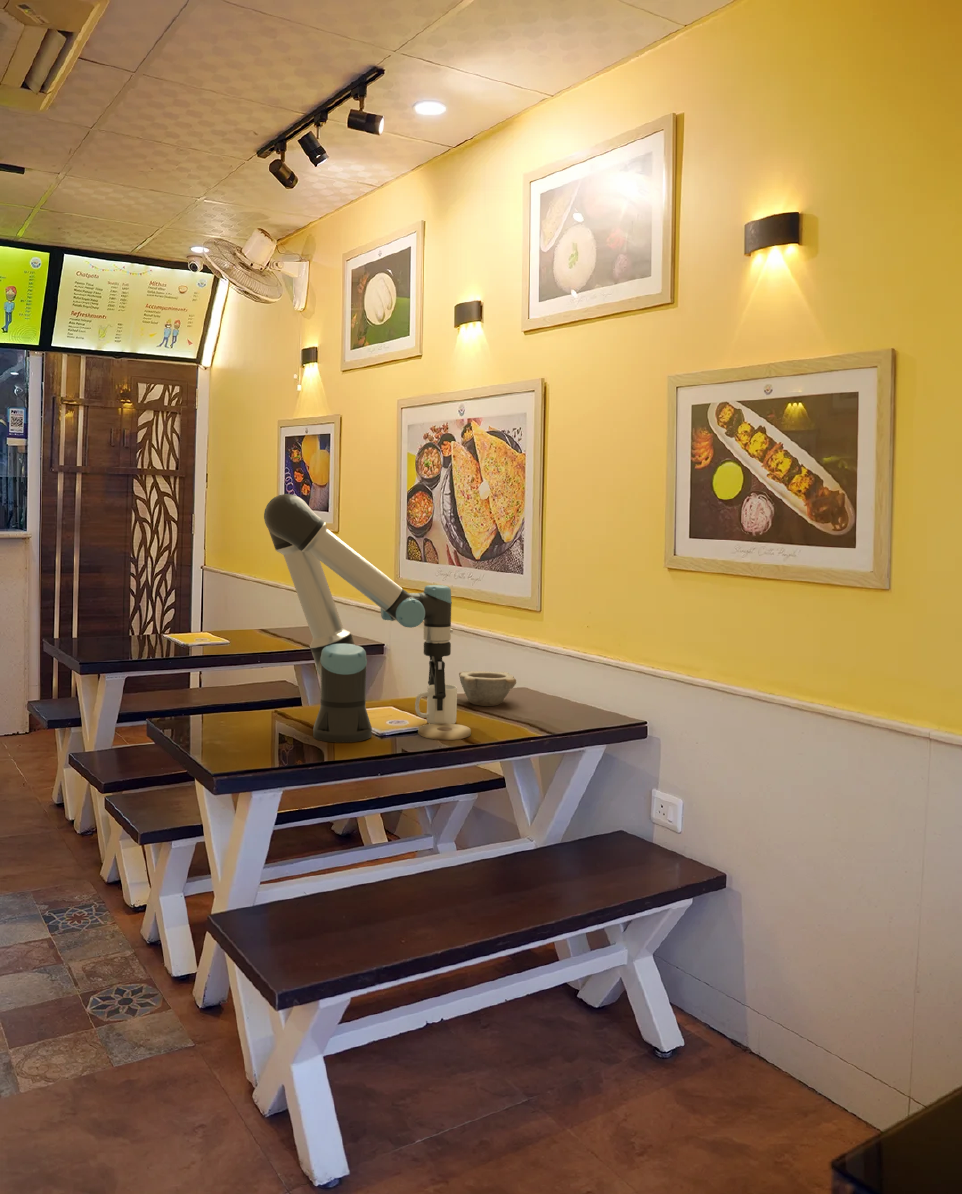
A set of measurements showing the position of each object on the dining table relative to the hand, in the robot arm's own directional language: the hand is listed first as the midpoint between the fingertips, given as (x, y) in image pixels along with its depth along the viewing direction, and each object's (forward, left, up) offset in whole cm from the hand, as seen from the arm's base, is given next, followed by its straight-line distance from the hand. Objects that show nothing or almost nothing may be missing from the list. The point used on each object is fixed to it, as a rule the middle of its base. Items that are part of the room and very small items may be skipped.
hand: (436, 716), depth 279 cm
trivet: (+1, -13, -2) cm, 13 cm away
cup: (0, 0, -2) cm, 2 cm away
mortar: (+19, +27, -2) cm, 33 cm away
